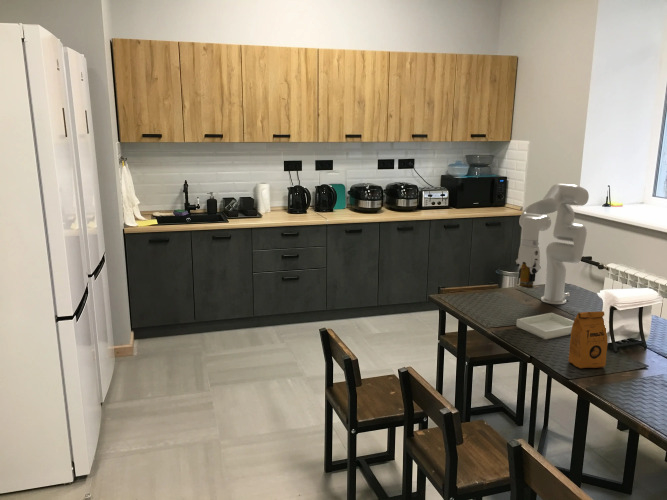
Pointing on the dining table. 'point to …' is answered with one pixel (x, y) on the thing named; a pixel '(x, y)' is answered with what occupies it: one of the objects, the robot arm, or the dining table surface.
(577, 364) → the coffee package
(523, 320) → the tray
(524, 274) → the condiment
